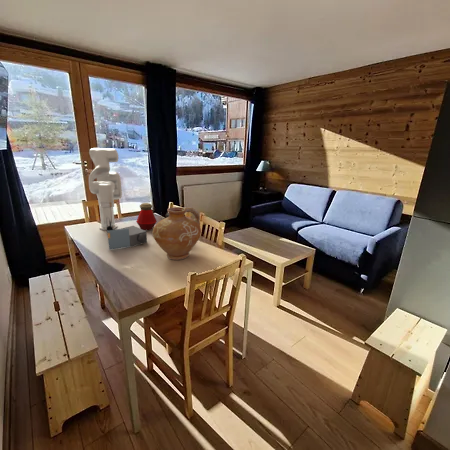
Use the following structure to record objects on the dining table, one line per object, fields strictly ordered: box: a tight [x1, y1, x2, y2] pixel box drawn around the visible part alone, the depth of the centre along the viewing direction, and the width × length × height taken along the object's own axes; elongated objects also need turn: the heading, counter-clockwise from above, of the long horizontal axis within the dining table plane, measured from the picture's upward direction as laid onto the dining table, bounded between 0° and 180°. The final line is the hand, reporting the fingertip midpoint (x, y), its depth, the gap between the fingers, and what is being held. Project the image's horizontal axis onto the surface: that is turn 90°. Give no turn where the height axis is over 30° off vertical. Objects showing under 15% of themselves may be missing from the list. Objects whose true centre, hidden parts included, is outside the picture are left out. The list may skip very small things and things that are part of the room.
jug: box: [152, 206, 202, 261], centre depth 148 cm, size 28×28×30 cm
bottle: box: [135, 202, 158, 231], centre depth 193 cm, size 16×14×20 cm
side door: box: [106, 228, 131, 251], centre depth 156 cm, size 12×2×12 cm, turn 117°
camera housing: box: [120, 225, 148, 248], centre depth 169 cm, size 18×12×8 cm, turn 50°
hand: (110, 232), depth 155 cm, fingers closed
